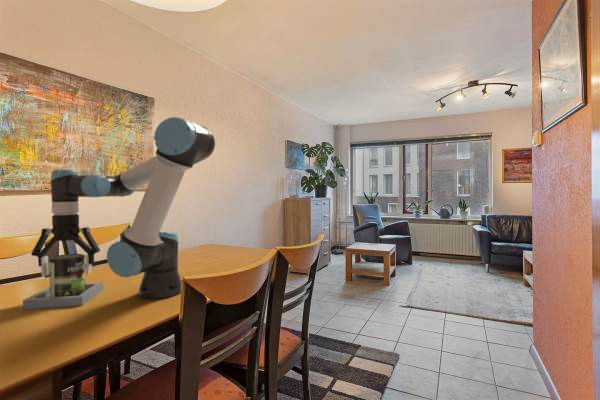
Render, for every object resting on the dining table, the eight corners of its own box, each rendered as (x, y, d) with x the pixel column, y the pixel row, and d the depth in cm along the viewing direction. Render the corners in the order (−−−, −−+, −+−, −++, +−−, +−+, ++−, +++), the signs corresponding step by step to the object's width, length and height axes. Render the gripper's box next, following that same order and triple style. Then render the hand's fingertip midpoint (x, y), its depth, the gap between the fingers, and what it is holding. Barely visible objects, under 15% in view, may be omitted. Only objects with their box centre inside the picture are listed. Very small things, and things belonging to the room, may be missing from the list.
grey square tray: (103, 289, 120) (103, 282, 120) (82, 305, 104) (82, 297, 104) (53, 292, 117) (52, 284, 117) (22, 309, 100) (22, 300, 100)
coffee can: (92, 292, 114) (92, 254, 114) (66, 302, 104) (65, 260, 104) (69, 290, 116) (68, 252, 116) (41, 300, 106) (40, 258, 106)
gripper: (109, 212, 116) (110, 269, 116) (31, 214, 111) (33, 273, 111) (100, 214, 108) (102, 274, 109) (16, 215, 103) (18, 279, 104)
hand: (67, 274), depth 110 cm, fingers open, 13 cm apart
